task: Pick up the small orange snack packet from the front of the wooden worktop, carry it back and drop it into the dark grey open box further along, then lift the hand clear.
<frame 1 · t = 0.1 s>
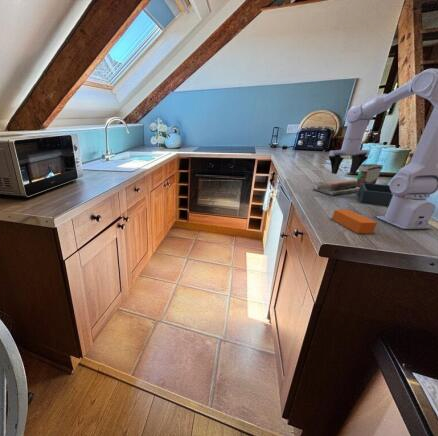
hand: (343, 173, 101), 10 cm above the countertop, tool pointing down, fingers open, 7 cm apart
packaged product: (336, 191, 112), on the countertop
food container: (361, 186, 119), on the countertop
dark grey open box: (377, 200, 99), on the countertop
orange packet: (351, 225, 77), on the countertop
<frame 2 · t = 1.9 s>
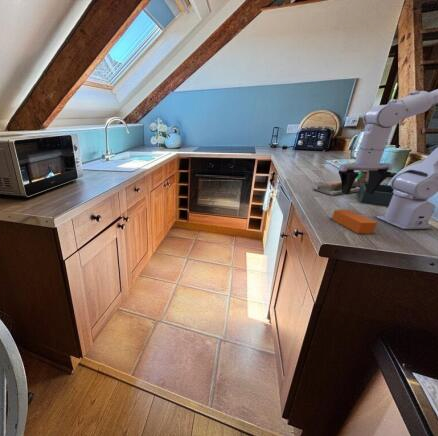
hand: (357, 193, 77), 10 cm above the countertop, tool pointing down, fingers open, 7 cm apart
nothing on the countertop moved.
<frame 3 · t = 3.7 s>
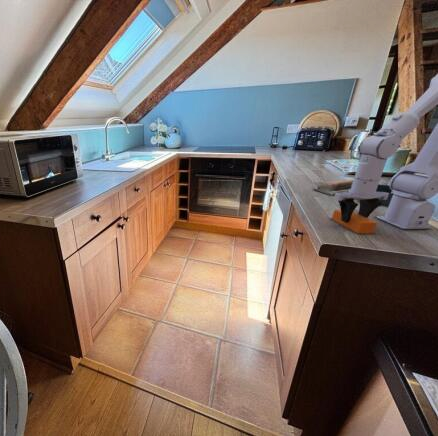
hand: (352, 221, 76), 2 cm above the countertop, tool pointing down, fingers closed on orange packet, 4 cm apart
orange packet: (351, 225, 77), on the countertop, touching gripper
everything else where it was.
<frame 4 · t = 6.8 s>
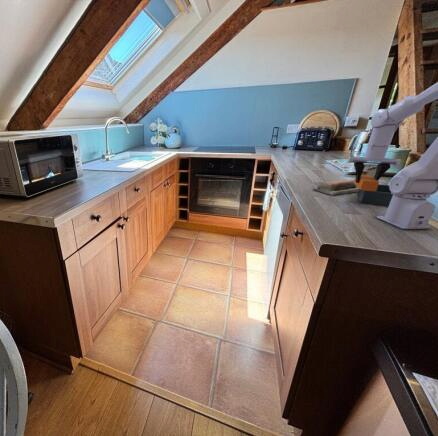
hand: (365, 182, 92), 8 cm above the countertop, tool pointing down, fingers closed on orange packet, 4 cm apart
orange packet: (364, 186, 93), point 7 cm above the countertop, touching gripper
everything else where it was.
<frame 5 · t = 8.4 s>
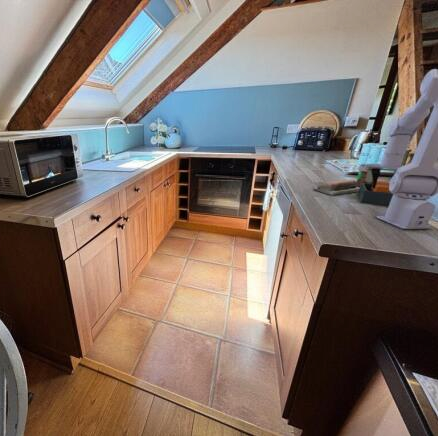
hand: (381, 188, 97), 5 cm above the countertop, tool pointing down, fingers closed on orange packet, 4 cm apart
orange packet: (380, 192, 98), point 3 cm above the countertop, touching gripper
everything else where it was.
when the fingers open (2 cm above the countertop, at t = 9.8 s): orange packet stays where it is, resting on dark grey open box.
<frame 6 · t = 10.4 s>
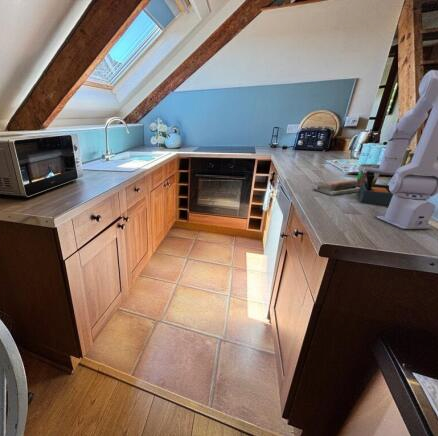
hand: (380, 192, 98), 3 cm above the countertop, tool pointing down, fingers open, 7 cm apart
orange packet: (377, 198, 99), resting on dark grey open box
everything else where it was.
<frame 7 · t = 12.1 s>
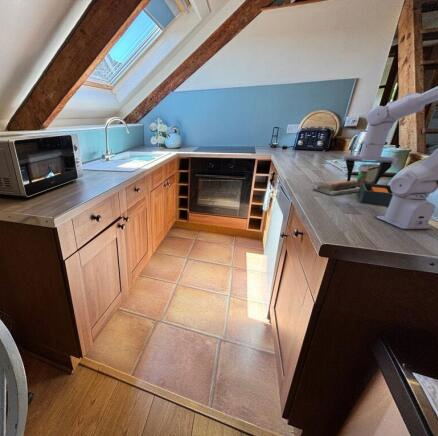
hand: (361, 182, 90), 9 cm above the countertop, tool pointing down, fingers open, 7 cm apart
nothing on the countertop moved.
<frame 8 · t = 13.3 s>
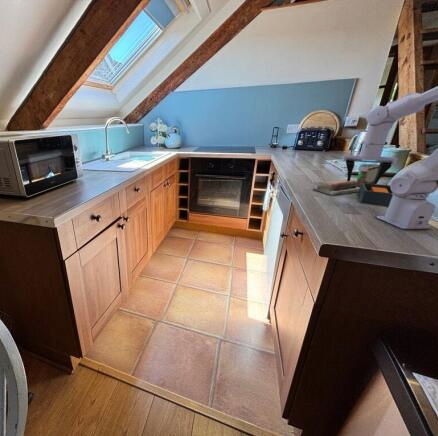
hand: (361, 182, 90), 9 cm above the countertop, tool pointing down, fingers open, 7 cm apart
nothing on the countertop moved.
at the end: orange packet inside the target area in the dark grey open box (0.1 cm from its centre), point 0.5 cm above the dark grey open box's base; the gripper is holding nothing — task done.
